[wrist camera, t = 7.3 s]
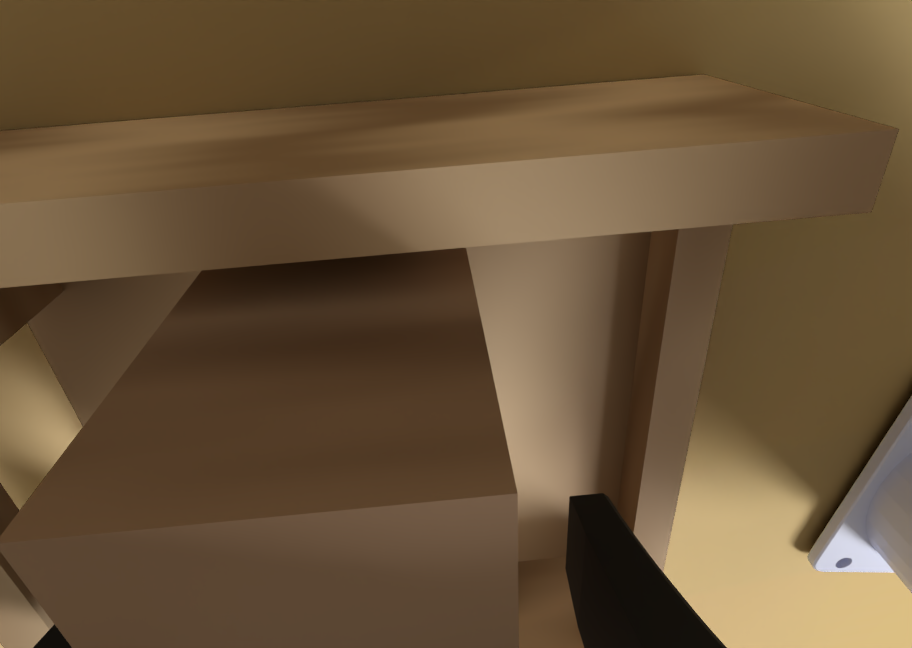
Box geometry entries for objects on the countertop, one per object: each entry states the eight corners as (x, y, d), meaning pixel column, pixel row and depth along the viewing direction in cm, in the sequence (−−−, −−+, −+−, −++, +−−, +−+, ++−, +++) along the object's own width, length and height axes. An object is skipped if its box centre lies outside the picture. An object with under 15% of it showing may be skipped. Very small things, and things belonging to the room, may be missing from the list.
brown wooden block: (223, 241, 9) (-6, 543, 4) (460, 221, 9) (517, 494, 4) (330, 599, 15) (284, 932, 9) (482, 584, 15) (520, 905, 9)
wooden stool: (704, 74, 11) (898, 128, 6) (632, 547, 18) (702, 722, 14) (-38, 134, 10) (-353, 233, 6) (193, 591, 18) (122, 785, 13)
